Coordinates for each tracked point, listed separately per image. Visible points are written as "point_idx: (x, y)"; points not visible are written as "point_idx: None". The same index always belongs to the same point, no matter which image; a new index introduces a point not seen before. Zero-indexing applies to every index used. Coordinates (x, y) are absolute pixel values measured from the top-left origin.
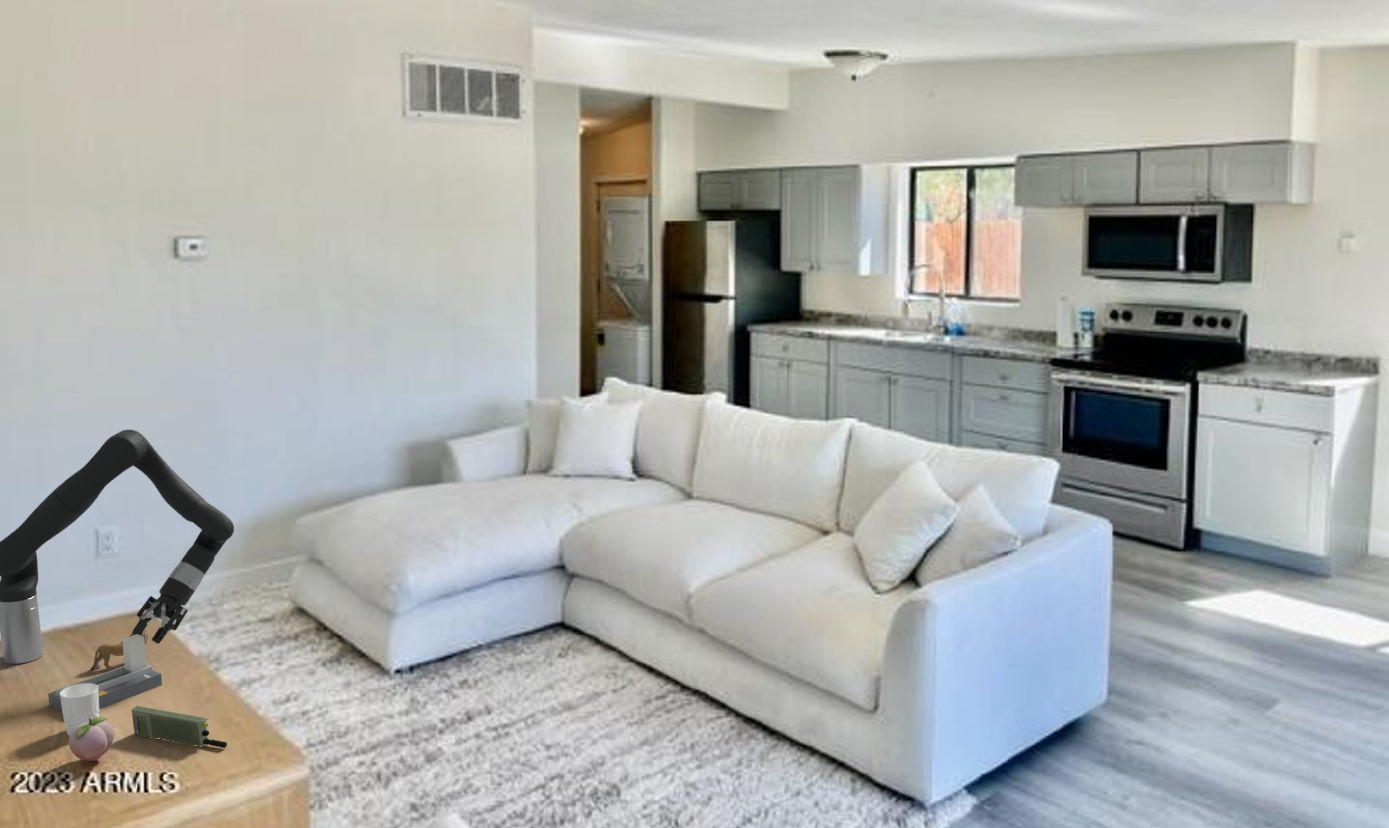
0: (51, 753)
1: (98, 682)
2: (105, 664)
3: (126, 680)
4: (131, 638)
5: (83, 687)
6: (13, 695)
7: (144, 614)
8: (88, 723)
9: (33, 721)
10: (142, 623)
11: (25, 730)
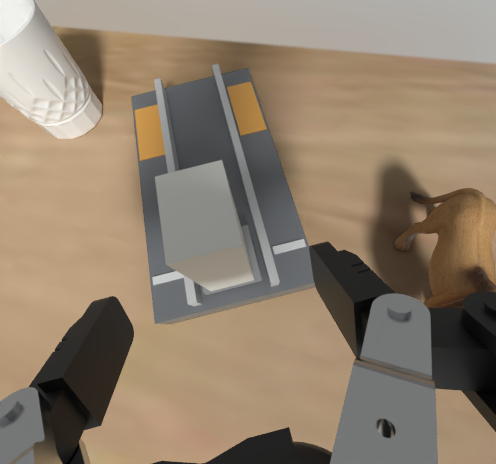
0: None
1: (231, 160)
2: (412, 225)
3: None
4: (192, 198)
5: (25, 42)
6: (357, 54)
7: (408, 348)
8: None
9: (191, 64)
10: (348, 311)
11: (163, 51)
